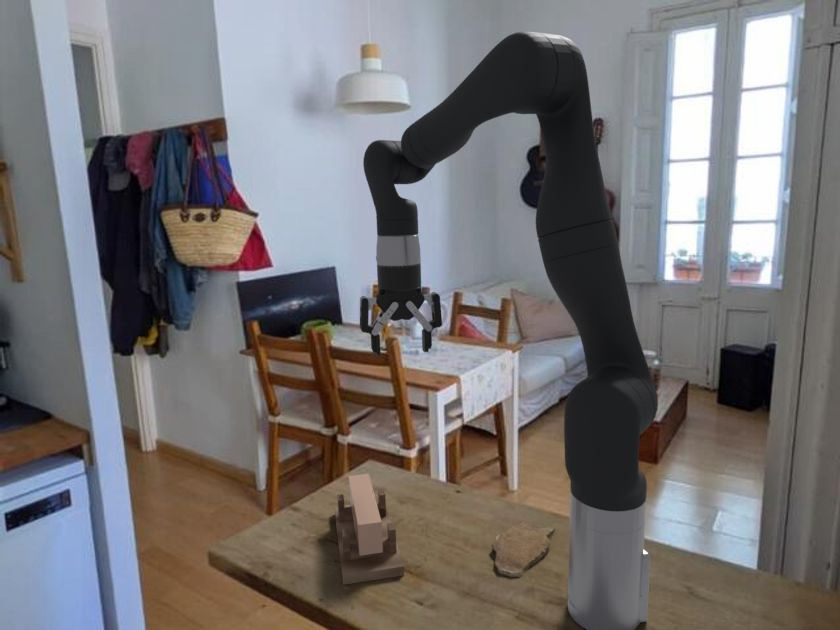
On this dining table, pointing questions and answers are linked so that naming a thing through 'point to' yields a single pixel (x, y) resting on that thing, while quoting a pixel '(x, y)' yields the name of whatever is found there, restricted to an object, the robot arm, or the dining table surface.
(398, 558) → the brown cradle stand
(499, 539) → the pottery shard
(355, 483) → the clay bar
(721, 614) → the dining table surface
